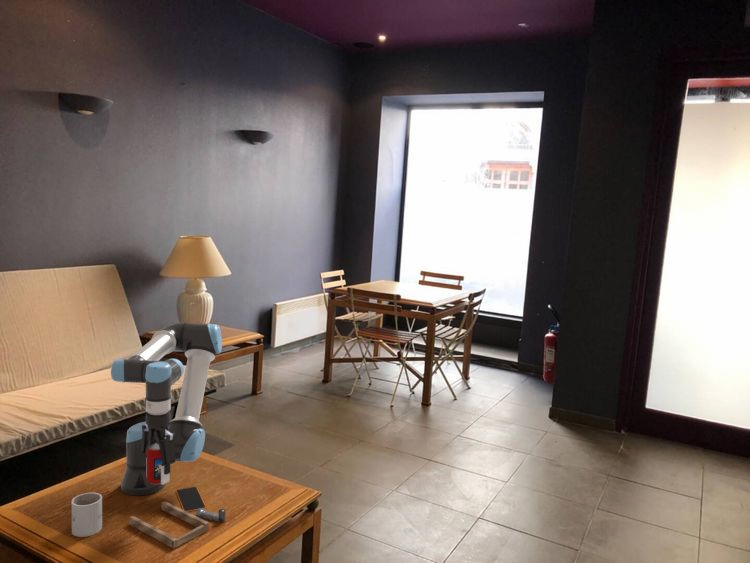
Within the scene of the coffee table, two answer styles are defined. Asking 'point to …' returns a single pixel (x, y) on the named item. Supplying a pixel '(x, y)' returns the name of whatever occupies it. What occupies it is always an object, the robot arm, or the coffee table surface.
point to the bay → (166, 538)
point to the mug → (86, 514)
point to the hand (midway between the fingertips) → (157, 479)
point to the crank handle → (211, 514)
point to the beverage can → (154, 464)
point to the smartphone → (190, 499)
